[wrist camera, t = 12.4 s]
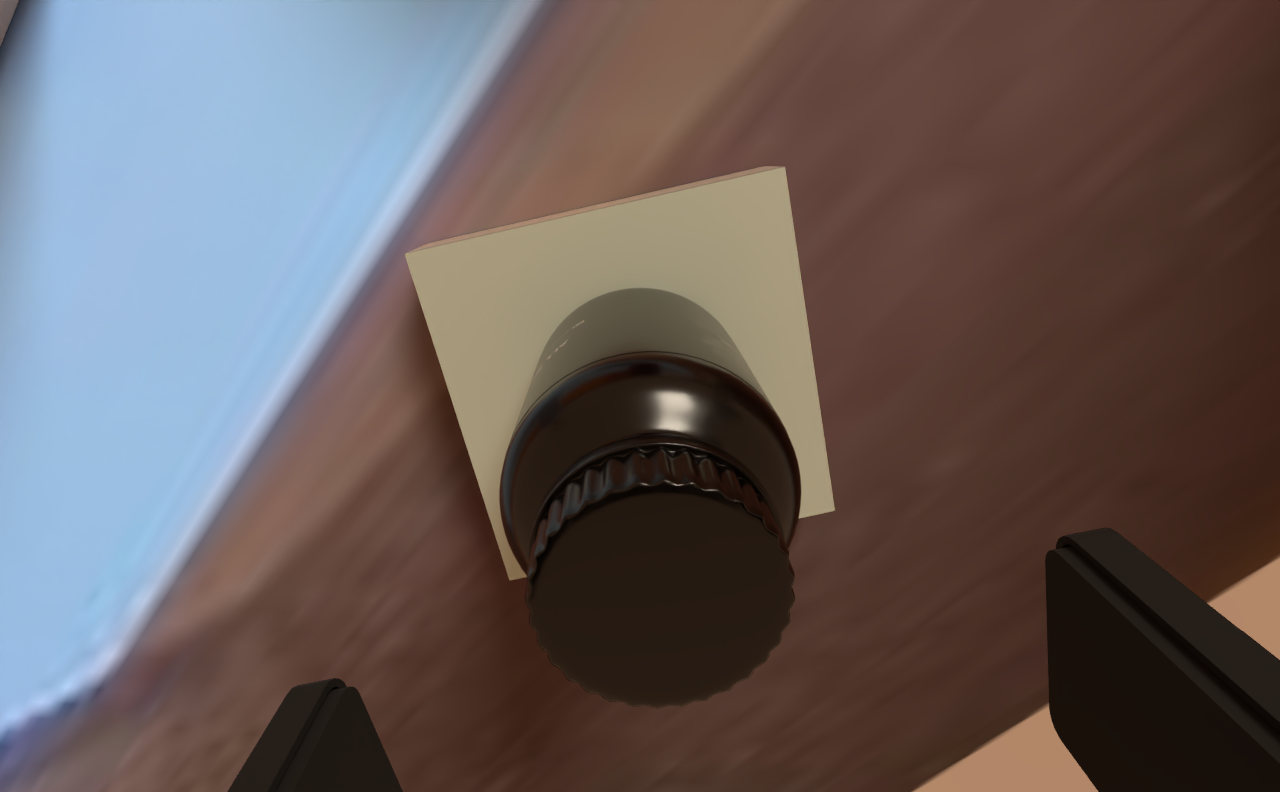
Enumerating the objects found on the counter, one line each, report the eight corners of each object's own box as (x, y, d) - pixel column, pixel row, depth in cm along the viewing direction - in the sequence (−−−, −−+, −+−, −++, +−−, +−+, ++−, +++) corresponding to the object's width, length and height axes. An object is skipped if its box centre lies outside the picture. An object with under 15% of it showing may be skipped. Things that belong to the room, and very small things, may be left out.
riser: (764, 166, 25) (784, 166, 22) (811, 475, 28) (834, 510, 25) (427, 243, 25) (404, 253, 22) (519, 538, 29) (509, 580, 26)
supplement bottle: (517, 300, 23) (424, 442, 11) (730, 270, 23) (853, 383, 11) (554, 493, 25) (506, 776, 13) (748, 466, 25) (866, 728, 13)
